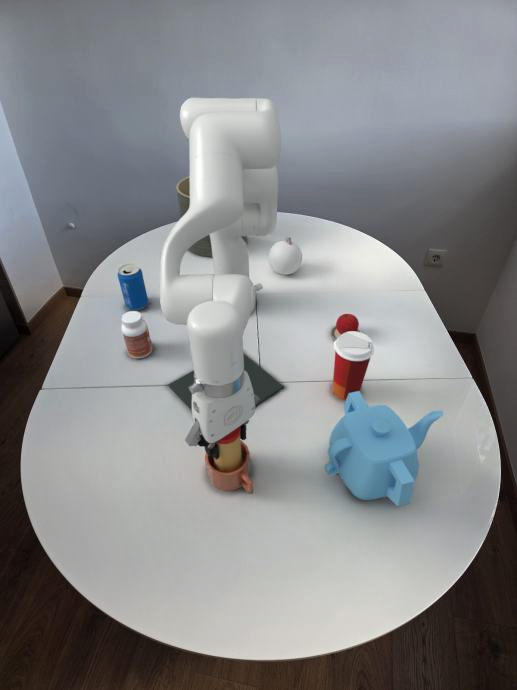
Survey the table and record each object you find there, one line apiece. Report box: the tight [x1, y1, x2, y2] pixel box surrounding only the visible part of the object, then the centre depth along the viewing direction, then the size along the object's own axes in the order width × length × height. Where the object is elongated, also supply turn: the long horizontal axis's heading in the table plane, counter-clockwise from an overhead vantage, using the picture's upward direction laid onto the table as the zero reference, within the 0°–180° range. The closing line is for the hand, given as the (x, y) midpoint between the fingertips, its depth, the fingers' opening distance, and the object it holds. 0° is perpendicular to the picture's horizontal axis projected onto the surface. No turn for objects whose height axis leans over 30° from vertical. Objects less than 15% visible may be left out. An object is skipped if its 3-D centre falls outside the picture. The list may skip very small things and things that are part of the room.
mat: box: [167, 352, 285, 411], centre depth 100 cm, size 20×18×1 cm
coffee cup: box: [332, 331, 375, 401], centre depth 94 cm, size 8×8×15 cm
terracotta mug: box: [204, 439, 254, 495], centre depth 81 cm, size 11×8×6 cm
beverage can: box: [117, 263, 149, 311], centre depth 120 cm, size 6×6×12 cm
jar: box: [214, 426, 242, 473], centre depth 78 cm, size 5×5×11 cm
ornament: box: [267, 236, 303, 276], centre depth 132 cm, size 10×10×12 cm
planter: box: [175, 175, 247, 258], centre depth 144 cm, size 22×22×20 cm
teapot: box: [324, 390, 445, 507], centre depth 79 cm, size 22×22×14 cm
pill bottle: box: [120, 310, 153, 359], centre depth 105 cm, size 6×6×11 cm
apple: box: [329, 313, 362, 341], centre depth 111 cm, size 8×8×6 cm
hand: (226, 443), depth 78 cm, fingers closed on jar, 5 cm apart
